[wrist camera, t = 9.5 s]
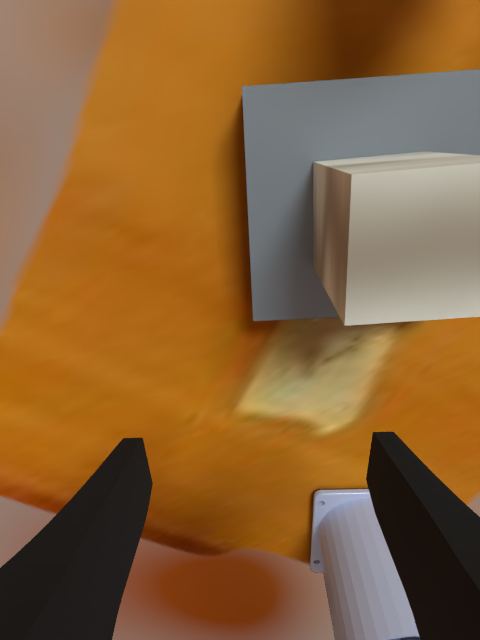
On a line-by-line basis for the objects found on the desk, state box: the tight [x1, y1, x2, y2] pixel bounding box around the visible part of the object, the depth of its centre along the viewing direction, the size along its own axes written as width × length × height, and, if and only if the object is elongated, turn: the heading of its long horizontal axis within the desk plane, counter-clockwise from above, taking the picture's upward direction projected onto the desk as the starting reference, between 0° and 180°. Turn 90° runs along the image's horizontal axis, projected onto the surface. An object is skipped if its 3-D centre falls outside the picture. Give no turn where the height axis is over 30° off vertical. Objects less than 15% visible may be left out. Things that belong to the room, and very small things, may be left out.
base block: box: [242, 69, 480, 321], centre depth 17 cm, size 10×10×3 cm
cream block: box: [313, 152, 480, 326], centre depth 13 cm, size 4×4×6 cm
